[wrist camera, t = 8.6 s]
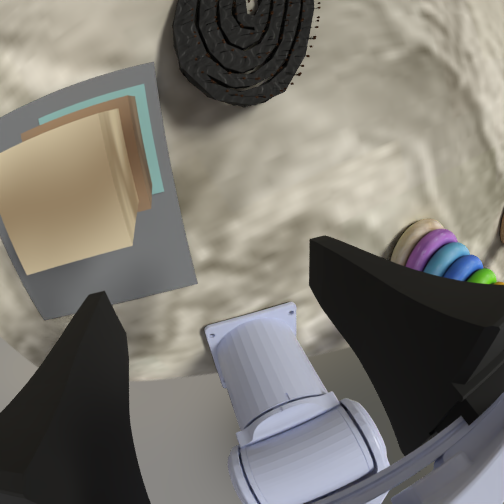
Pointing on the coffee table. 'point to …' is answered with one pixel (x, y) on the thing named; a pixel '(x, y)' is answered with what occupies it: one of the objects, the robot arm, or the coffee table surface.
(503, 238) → the candle holder
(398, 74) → the coffee table surface
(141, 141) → the walnut block
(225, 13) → the hairbrush
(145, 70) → the mat
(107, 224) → the birch block
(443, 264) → the stacking toy
